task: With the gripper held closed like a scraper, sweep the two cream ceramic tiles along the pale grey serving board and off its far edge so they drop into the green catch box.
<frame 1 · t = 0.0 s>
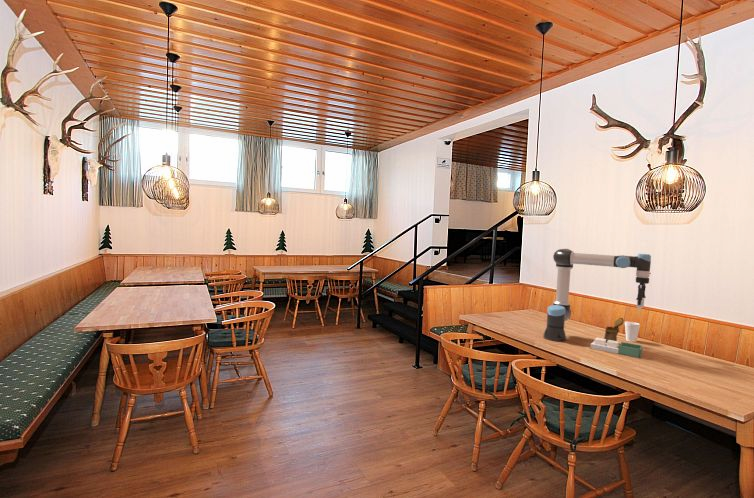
hand: (640, 308, 273), 28 cm above the table, fingers open, 13 cm apart
catch box: (630, 353, 263), on the table
tile a: (600, 343, 274), point 3 cm above the table, touching board
board: (605, 349, 272), on the table
foam cup: (631, 340, 298), on the table
wooden mug: (612, 343, 289), on the table
tile b: (612, 346, 269), point 3 cm above the table, touching board
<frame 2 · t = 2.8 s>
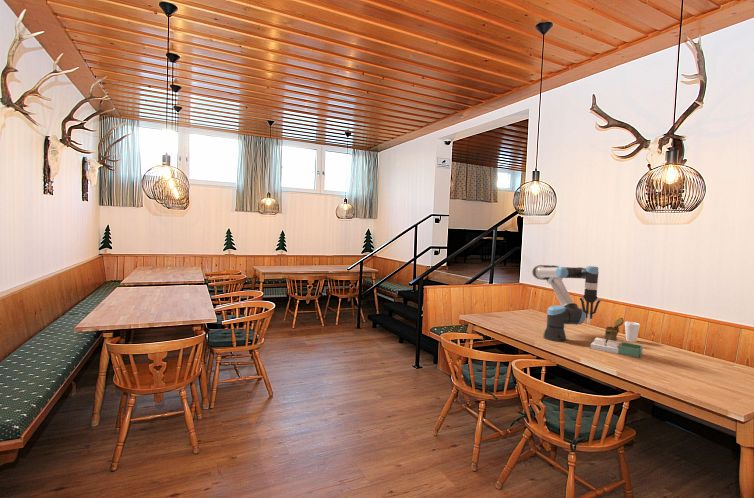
hand: (588, 323, 278), 16 cm above the table, fingers closed
nothing on the table moved.
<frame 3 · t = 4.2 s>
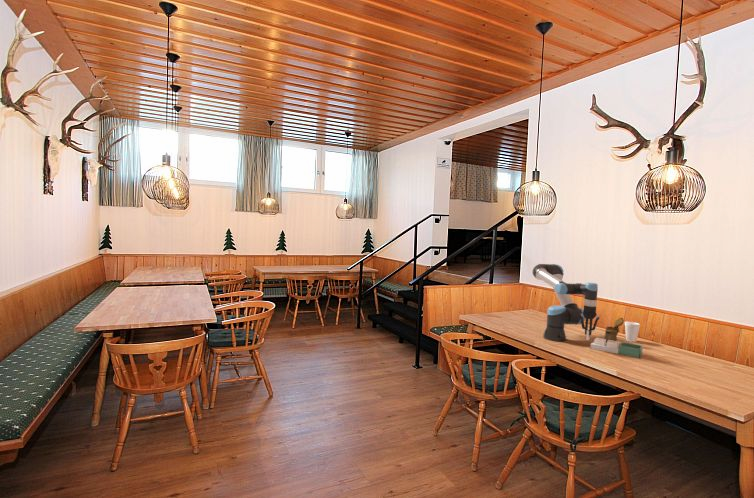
hand: (587, 339, 279), 4 cm above the table, fingers closed
nothing on the table moved.
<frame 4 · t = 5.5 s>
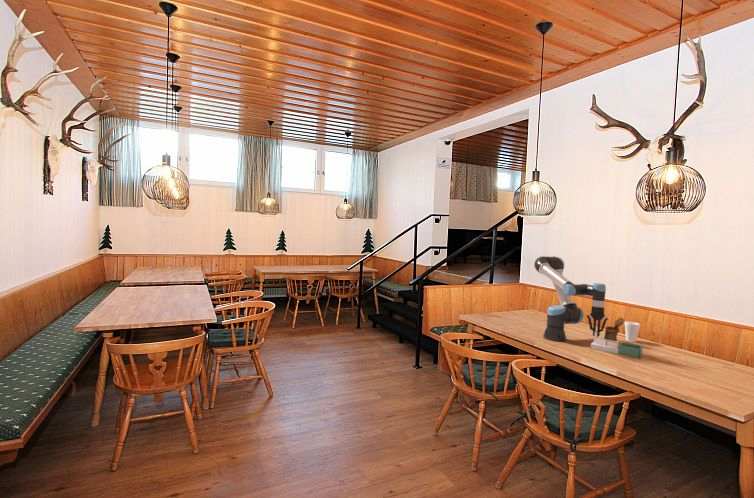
hand: (595, 340, 275), 4 cm above the table, fingers closed
tile a: (601, 344, 273), point 3 cm above the table, touching board, gripper
everything else where it was.
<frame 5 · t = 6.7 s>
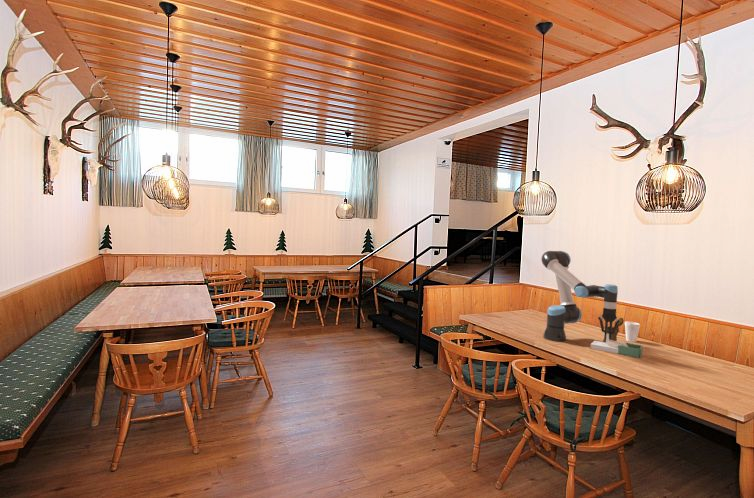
hand: (607, 343, 271), 4 cm above the table, fingers closed
tile a: (613, 346, 269), point 3 cm above the table, touching board, tile b
tile b: (622, 348, 266), point 3 cm above the table, tilted 50°, touching catch box, tile a
everything else where it was.
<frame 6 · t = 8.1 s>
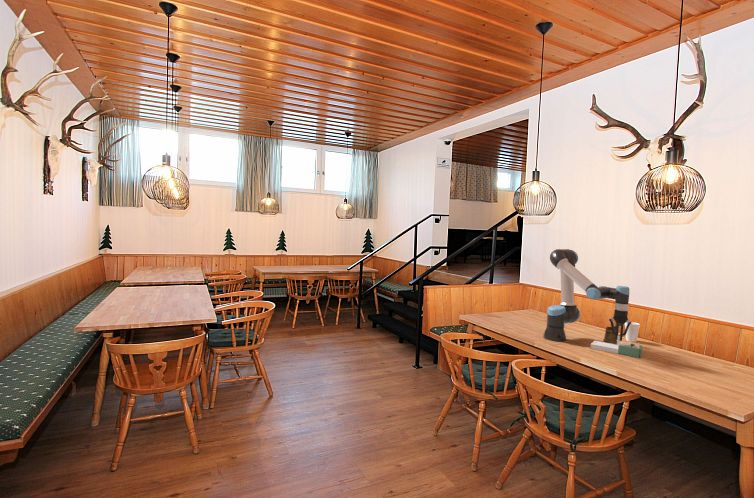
hand: (618, 345, 267), 4 cm above the table, fingers closed
tile a: (625, 347, 265), point 3 cm above the table, tilted 6°, touching board, gripper, tile b
tile b: (632, 347, 262), point 5 cm above the table, tilted 131°, touching catch box, tile a
everything else where it was.
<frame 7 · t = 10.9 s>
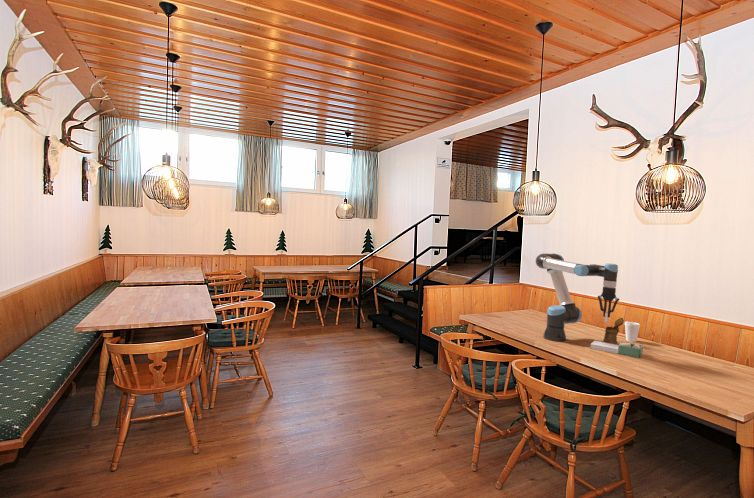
hand: (605, 321, 272), 18 cm above the table, fingers closed
tile a: (625, 348, 265), point 3 cm above the table, tilted 11°, touching board, tile b
everything else where it was.
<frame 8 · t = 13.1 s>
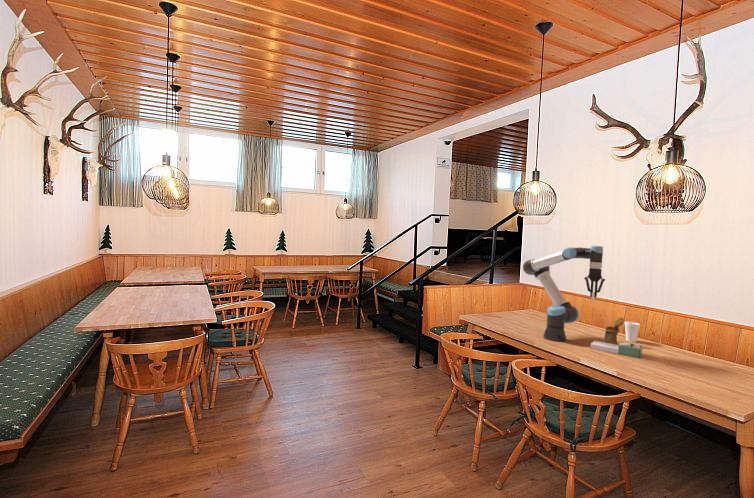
hand: (593, 301, 284), 29 cm above the table, fingers closed
nothing on the table moved.
at the end: tile a inside the target area on the catch box (2.9 cm from its centre), point 3.0 cm above the catch box's base; tile b inside the target area on the catch box (1.0 cm from its centre), point 4.7 cm above the catch box's base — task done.
